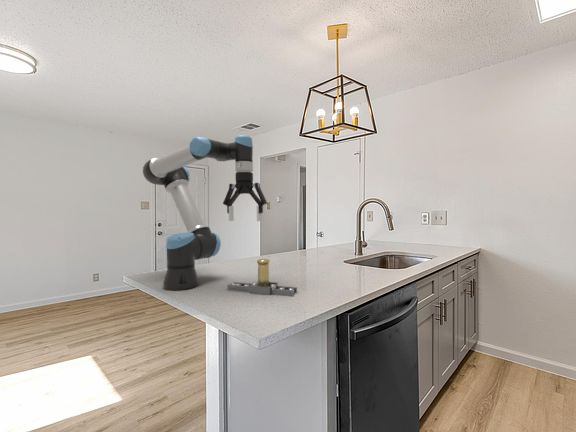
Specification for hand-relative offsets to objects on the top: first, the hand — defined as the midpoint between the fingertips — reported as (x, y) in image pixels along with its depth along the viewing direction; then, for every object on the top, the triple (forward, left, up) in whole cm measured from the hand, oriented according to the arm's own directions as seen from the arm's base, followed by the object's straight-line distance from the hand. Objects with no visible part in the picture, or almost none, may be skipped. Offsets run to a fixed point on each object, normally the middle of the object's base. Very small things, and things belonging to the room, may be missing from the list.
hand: (244, 221), depth 134 cm
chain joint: (+11, -5, -29) cm, 31 cm away
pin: (+11, -5, -29) cm, 31 cm away
